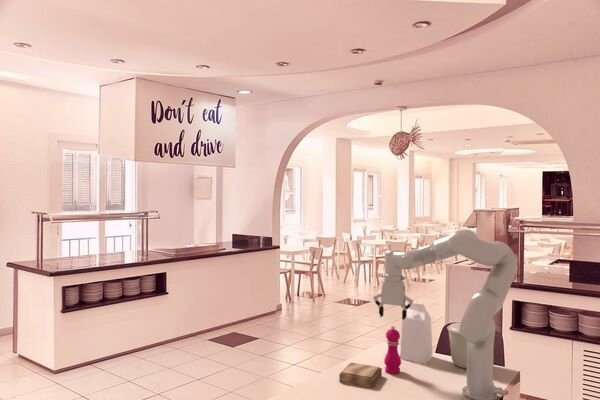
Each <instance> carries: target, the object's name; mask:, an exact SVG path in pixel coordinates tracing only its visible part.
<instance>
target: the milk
mask: <svg viewBox="0 0 600 400" xmlns="http://www.w3.org/2000/svg"><path fill="white" fill-rule="evenodd" d="M426 309H427V308H426V307H425V304H424V303H421V302H414V301H413V303H412V305H411V306H410V307H409V308H408V309H407V316H406V318H405V319H404V320H403V319H402V322H401V324H402V325H401V334H400V337H401V339H400V351H399V352H400V353H399V356H400V359H401V360H405V361H410V362H414V363H418V364H419V363H420V364H423V365H424V364H425V365H426V364H427V362H429V361H430V360H431V359H432V358H433V336H432V335H433V334H432V333H433V332H432V317H431V316H430V314H429V312H428V311H427V310H426Z"/></svg>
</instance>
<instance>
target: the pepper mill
mask: <svg viewBox="0 0 600 400" xmlns="http://www.w3.org/2000/svg"><path fill="white" fill-rule="evenodd" d="M385 336H386V344H387V352H386V354H385V356H384V361H383V362H384V365H385V369H384V370H385V373H387V374H389V375H398V374H400V373H401V368H400V366H401V364H402V359H400V353H399V351H398V347H399V344H400V343H399V340H400V337H401V333H400V332H399V331H398V330H396V327H395V325H391V326H390V329H388V330H387V331H386V333H385Z"/></svg>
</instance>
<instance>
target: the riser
mask: <svg viewBox="0 0 600 400" xmlns="http://www.w3.org/2000/svg"><path fill="white" fill-rule="evenodd" d="M382 371H383V368H382V367H380V366H375V365H370V364H363V363H356V362H349V364H348V365H346V367H345V368H344V369H343V370H341V372H340V373H339V379H338V380H339V383H343V384H348V385H352V386H358V387H363V388H368V387H369V388H370V389H374V387H375V386H376V384H377V383H378V382H379V381H380V379H381V378H382V377H383V372H382Z"/></svg>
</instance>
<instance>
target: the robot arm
mask: <svg viewBox="0 0 600 400" xmlns="http://www.w3.org/2000/svg"><path fill="white" fill-rule="evenodd" d="M458 255H460V256H463V258H467V259H469V260H471V261H473V262H476V263H478V264H480V265H483V266H487V267H491V269H490V271H489V273H488V275H487V277H486V280H485V282H484V284H483V287H482V288H481V290H479V291H477V292H475V293H474V294H473V295H472V297H471V298H470V300H469V302H468V304H467V306H466V309H465V311H464V314H463V315H462V318H461V321H460V322H461V323H460V322H459V323H460V334H461V336H462V337H463V339H464V340H466V341H467V369H466V385H465V386H464V387H462V388H461V389H462V390H461V391H462V394H463V395H464V396H465V397H467V398H468V399H471V400H497V399H498V395H500V396H501V395H502V396H506V394H507V393H506V392H507V391H506V389H503V387H497V386H496V385H495V382H494V346H495V342H494V341H495V336H496V324H495V320H494V316H495V315H496V314H498V312H500V311H501V309H503V307H504V303H505V301H506V299H507V295H508V293H509V291H510V288H511V285H512V283H513V282H514V278H515V276H516V272H517V264H518V263H517V258H516V257H517V256H516V255H515V253H514V251H513V249H512V248H511V247H510V246H509V245H508V244H507V243H504V241H498V240H496V241H495V240H492V241H488V242H487V241H485V240H484V239H483V240H482V239H480V238H478V236H477V234H476V233H475V232H474V231H473V230H471V229H460V230H455V231H453V232H452V233H451V234H448V235H446V236H443V237H440V238H436V239H434V240H433V242H431V243H430V244H428V245H425V246H422V247H419V248H416V249H412V250H408V251H401V250H399V249H387V250H386V251H385V253H384V280H383V281H382V285H381V290H380V291H381V292H380V293H379V294H376V295H373V297H372V298H373V301H374V303H375V305H376V306H377V307H378V315H379V317H380V318H382V317H384V305H388V306H389V305H390V306H400V307H401V308H402V311H401V320H402V321H403V320H404V319H405V318H406V316H407V309H408V308H409V307H410V306H411V305H412V303H413V302H414V299H411V298H410V297H409V296H407V295H406V287H405V282H404V281H405V280H406V276H404V275H403V270H413V269H415V268H420V267H423V266H425V265H426V266H427V265H429V264H431V263H434V262H437V261H443V260H446V259H449V258H452V257H455V256H458ZM379 298H380V300H379ZM406 301H407V302H408V304H406Z"/></svg>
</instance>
